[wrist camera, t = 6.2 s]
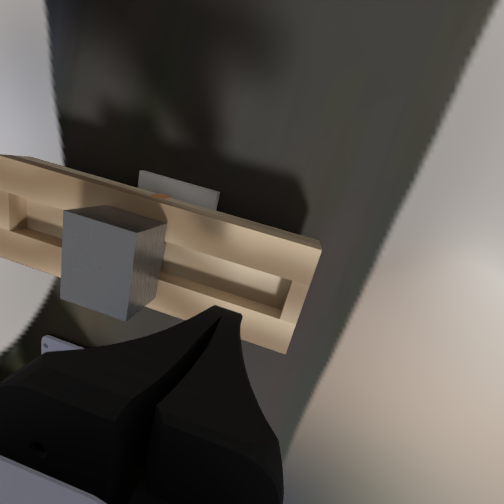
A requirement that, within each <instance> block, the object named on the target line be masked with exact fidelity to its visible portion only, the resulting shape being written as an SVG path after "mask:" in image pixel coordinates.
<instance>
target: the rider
mask: <svg viewBox="0 0 504 504" xmlns="http://www.w3.org/2000/svg"><path fill="white" fill-rule="evenodd" d="M166 229H167V223H165V222H162V221H159V220H155V219H152V218H149V217H145V216H142V215H139V214H135V213H132V212H129V211H125V210H122V209H119V208H115V207H112V206H109V205H100V206H92V207H84V208H77V209H69V210H63V231H62V260H61V288H60V299H63V300H66V301H68V302H71V303H74V304H77V305H80V306H83V307H86V308H88V309H91V310H94V311H97V312H100V313H103V314H106V315H108V316H111V317H114V318H117V319H120V320H123V321H127V320H129V319H130V318H131V317H132V316H134V315H135V314H136V313H137V312H139V311H140V310H141V309H142V308H144V307H145V306H146V305H147V304H149V303H150V302H151V301H152V300H154V299H155V298H156V292H157V286H158V280H159V273H160V269H161V268H162V266H163V260H164V253H165V247H166V242H165V235H166Z"/></svg>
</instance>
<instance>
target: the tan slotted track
mask: <svg viewBox="0 0 504 504" xmlns="http://www.w3.org/2000/svg"><path fill="white" fill-rule="evenodd" d="M219 196H220V192H219V191H215V190H212V189H208V188H205V187H201V186H198V185H194V184H190V183H187V182H183V181H180V180H176V179H173V178H169V177H166V176H162V175H158V174H155V173H151V172H148V171H144V170H140V172H139V180H138V188H136V187H133V186H129V185H126V184H123V183H119V182H116V181H112V180H109V179H105V178H102V177H98V176H95V175H92V174H88V173H85V172H81V171H78V170H74V169H71V168H67V167H64V166H61V165H57V164H54V163H50V162H47V161H43V160H40V159H36V158H33V157H26V156H13V155H0V257H2V258H5V259H8V260H11V261H14V262H16V263H19V264H22V265H25V266H28V267H31V268H34V269H37V270H40V271H43V272H46V273H49V274H52V275H54V276H57V277H60V278H61V260H62V231H63V210H69V209H77V208H84V207H92V206H100V205H109V206H112V207H115V208H119V209H122V210H125V211H129V212H132V213H135V214H139V215H142V216H145V217H149V218H152V219H155V220H159V221H162V222H165V223H167V229H166V235H165V242H166V247H165V253H164V260H163V266H162V268H161V269H160V273H159V280H158V286H157V292H156V298H155V299H154V300H152V301H151V302H150V303H149V304H147V305H146V306H145V307H148V308H151V309H154V310H157V311H160V312H163V313H166V314H169V315H172V316H175V317H178V318H181V319H184V320H188V319H190V318H191V317H193V316H195V315H197V314H199V313H201V312H203V311H204V310H206V309H208V308H210V307H212V306H214V305H217V306H220V307H223V308H226V309H229V310H232V311H235V312H238V313H241V314H242V316H243V318H242V322H241V328H240V336H241V339H242V340H245V341H248V342H251V343H254V344H257V345H260V346H263V347H266V348H269V349H271V350H274V351H277V352H280V353H283V354H286V351H287V348H288V346H289V343H290V340H291V337H292V334H293V331H294V329H295V326H296V323H297V320H298V317H299V314H300V312H301V309H302V306H303V303H304V300H305V297H306V294H307V292H308V289H309V286H310V283H311V280H312V277H313V275H314V272H315V269H316V266H317V263H318V260H319V257H320V255H321V252H322V248H321V244H320V241H319V240H316V239H312V238H309V237H305V236H302V235H298V234H295V233H291V232H288V231H285V230H281V229H278V228H274V227H271V226H267V225H264V224H260V223H257V222H254V221H250V220H247V219H243V218H240V217H236V216H233V215H229V214H226V213H222V212H219V211H216V210H217V205H218V200H219Z"/></svg>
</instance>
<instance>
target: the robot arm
mask: <svg viewBox="0 0 504 504" xmlns="http://www.w3.org/2000/svg"><path fill="white" fill-rule="evenodd" d="M242 318H243V316H242V314H241V313H238V312H235V311H232V310H229V309H226V308H223V307H220V306H217V305H214V306H212V307H210V308H208V309H206V310H204V311H203V312H201V313H199V314H197V315H195V316H193V317H191V318H190V319H188V320H186V321H184V322H182V323H180V324H177V325H175V326H173V327H171V328H168V329H166V330H163V331H160V332H158V333H155V334H152V335H149V336H145V337H142V338H138V339H134V340H130V341H126V342H122V343H117V344H112V345H106V346H100V347H93V348H86V349H85V348H82V347H80V346H77V345H74V344H72V343H69V342H66V341H63V340H61V339H58V338H55V337H53V336H50V335H46V336H44V337H43V338H42V345H41V355H40V356H38V357H37V358H35V359H34V360H32V361H31V362H29V363H28V364H26V365H25V366H23V367H22V368H20V369H19V370H17V371H16V372H14V373H13V374H11V375H10V376H8V377H7V378H5V379H4V380H2V381H1V382H0V504H283V495H284V487H283V469H282V460H281V453H280V446H279V440H278V439H277V437H276V435H275V434H274V432H273V430H272V429H271V427H270V426H269V424H268V422H267V421H266V419H265V417H264V415H263V413H262V411H261V409H260V407H259V405H258V402H257V400H256V397H255V395H254V392H253V390H252V388H251V385H250V382H249V379H248V376H247V372H246V368H245V364H244V360H243V354H242V347H241V336H240V328H241V322H242Z"/></svg>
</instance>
